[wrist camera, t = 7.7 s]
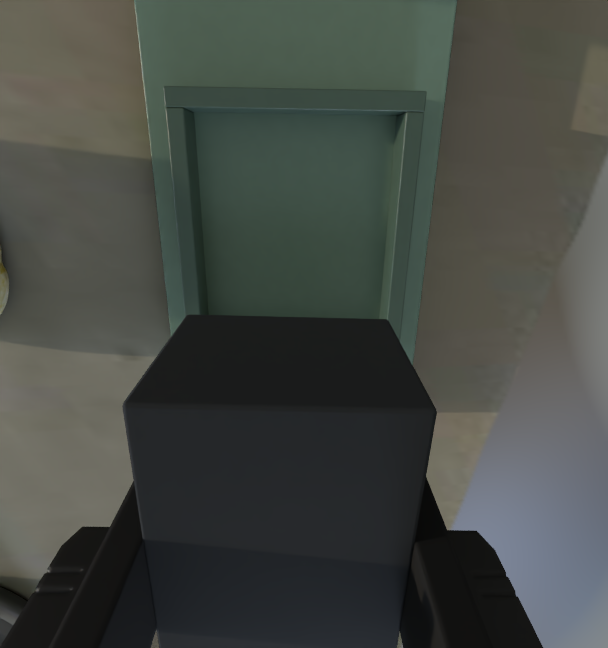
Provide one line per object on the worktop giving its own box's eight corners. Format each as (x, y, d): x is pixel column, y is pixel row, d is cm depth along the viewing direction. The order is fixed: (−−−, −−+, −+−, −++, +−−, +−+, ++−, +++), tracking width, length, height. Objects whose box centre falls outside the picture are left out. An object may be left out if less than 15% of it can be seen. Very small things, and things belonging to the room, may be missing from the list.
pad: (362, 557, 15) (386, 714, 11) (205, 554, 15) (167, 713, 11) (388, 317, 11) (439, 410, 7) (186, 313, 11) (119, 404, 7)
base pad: (401, 400, 27) (415, 433, 24) (185, 399, 27) (169, 432, 24) (449, -14, 19) (480, -49, 16) (142, -21, 19) (110, -58, 16)
